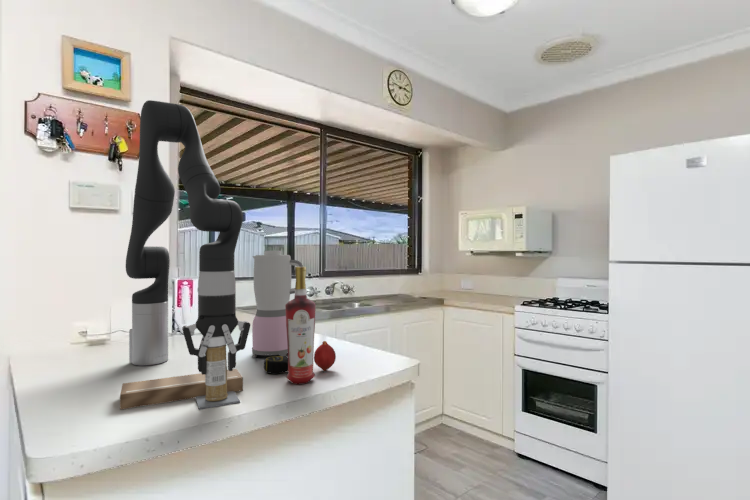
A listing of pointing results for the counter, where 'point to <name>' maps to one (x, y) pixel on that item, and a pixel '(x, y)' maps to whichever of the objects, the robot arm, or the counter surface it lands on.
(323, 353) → the onion
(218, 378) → the sprinkles bottle
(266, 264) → the blender
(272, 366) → the tape measure
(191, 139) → the robot arm
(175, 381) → the walnut board
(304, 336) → the liquor
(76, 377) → the counter surface
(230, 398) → the grey pad
